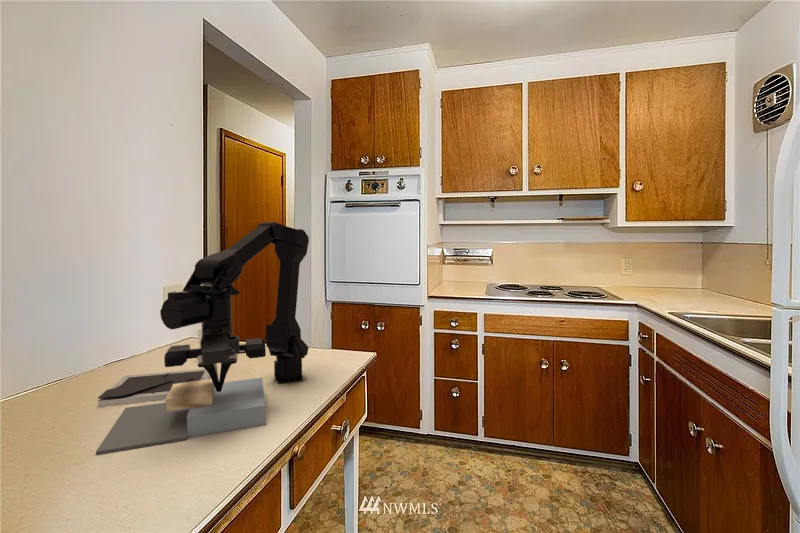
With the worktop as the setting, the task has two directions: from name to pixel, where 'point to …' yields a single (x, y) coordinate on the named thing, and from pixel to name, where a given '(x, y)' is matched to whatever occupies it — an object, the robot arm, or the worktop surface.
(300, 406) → the worktop surface
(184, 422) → the rubber mat
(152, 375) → the picture frame
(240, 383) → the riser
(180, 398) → the coaster
